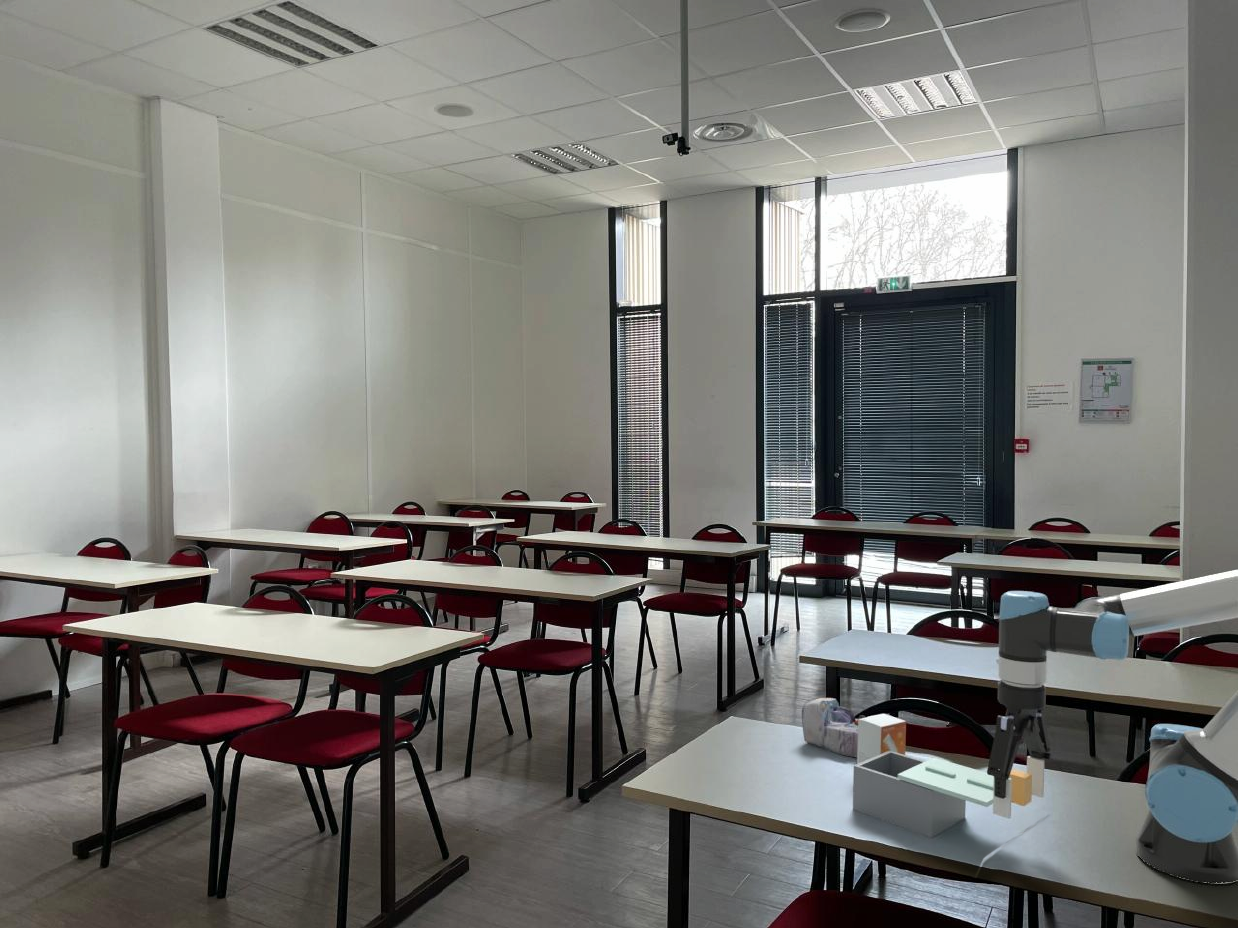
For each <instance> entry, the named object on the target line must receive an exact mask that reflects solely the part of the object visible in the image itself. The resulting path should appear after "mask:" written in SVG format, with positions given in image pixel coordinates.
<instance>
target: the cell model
mask: <svg viewBox="0 0 1238 928" xmlns="http://www.w3.org/2000/svg"><path fill="white" fill-rule="evenodd" d="M874 715H875V714H873V715H872V716H874ZM862 718H866V716H865V715H862V714H860V715H859V716H858V718H856V716H855V715H854V714H853V713H852V711H851V709H850V708H848V707H844V706H840V704H839V701H838V700H837V699H836V698H833V697H819V698H817V699H814V700H811V701H808V702H806V703H804V704H803V705H802V708H801V724H802V725H801V726H802V734H803V740H804V741H805V742H806V743H807V744H808V743H809V744H811V745H816V746H819V747H822V748H823V749H825V750H828V751H831V752H833V753H836V754H838V755H843V756H845V757H846V756H847V757H852V758H853V757H855V758H857V751H858V719H862Z"/></svg>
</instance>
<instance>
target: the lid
mask: <svg viewBox="0 0 1238 928" xmlns="http://www.w3.org/2000/svg"><path fill="white" fill-rule="evenodd" d="M924 761H925V762H923V763H921V764H919V765H917V766H914V767H912V768H910V769H908V770H906V771H904V772H902V773H899V774H898V779H900V780H903V781H906V782H909V783H913V784H916V785H919V786H922V787H925V788H928V789H931V790H935V791H938V792H941V793H944V794H947V795H950V796H953V797H956V798H960V799H963V800H966V801H967V802H969V803H973V804H976V805H979V806H982V807H984V808H988V807H990V806H991V805H993V787H994V776H991V775H988V774H987V771H983V770H979V769H976V768H975V769H974V768H971V767H969V766H966V765H961V764H958V763H954V762H951V761H948V760H945V759H941V758H937V757H932V758H930V759H927V760H924ZM1009 778H1011V779H1012V796H1011V804H1012V803H1013V804H1015V805H1018V806H1021V807H1022V806H1023V807H1026V806H1027V805H1029V804H1030V803H1032V797H1033V795H1032V774H1030V773H1027V771H1023V770H1019V769H1015V768H1014V769H1012V770H1011V773H1010V776H1009Z"/></svg>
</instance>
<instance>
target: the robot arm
mask: <svg viewBox="0 0 1238 928" xmlns="http://www.w3.org/2000/svg"><path fill="white" fill-rule="evenodd" d="M1233 619H1238V569H1235V570H1234V569H1233V570H1229V571H1224V572H1220V573H1215V574H1209V575H1205V576H1200V577H1196V578H1191V579H1186V580H1181V581H1175V582H1170V583H1166V584H1162V585H1157V586H1154V587H1153V586H1152V587H1148V588H1143V589H1138V590H1134V591H1128V592H1124V593H1120V594H1114V595H1110V596H1105V597H1097V596H1094V597H1090V598H1086V599H1083V600H1082V601H1080V602H1078V603H1077V604H1076V605H1075V607H1074V608H1065V607H1063V608H1062V607H1055V606H1052V605H1051V606H1050V603H1049V599H1048V596H1047V595H1046V594H1044V593H1041V592H1035V591H1027V590H1025V591H1024V590H1009V591H1007V592H1004V593H1003V594H1002V595H1001V596H1000V606H999V616H998V657H997V659H996V663H997V664H998V672H997V673H998V678H999V679H1000V680H998V682H997V701H998V702H999V703H1000V704H1001V705H1002V706H1003V705H1004V707H1005V708H1006V712H1005V716H1003V715H997V717H996V724H995V725H996V726H995V733H994V736H993V741H992V746H991V751H990V755H989V761H988V765H987V771H986V773H987V774H988V775H991V776H994V787H993V804H992V814H994V815H997V816H1000V817H1003V818H1006V819H1011V818H1012V802H1011V796H1012V779H1011V778H1009V776H1010V773H1011V771H1012V770H1013V766H1014V763H1015V760H1016V756H1017V753H1018V751H1019V747H1020V745H1022V744H1023V743H1025V746H1026V749H1027V751H1028V753H1029V755H1028V756H1026V772H1027V773H1030V774H1032V796H1035V797H1039V798H1044V794H1045V790H1044V789H1045V761H1046V760H1047V761H1050V759H1051V758H1052V757H1051V753H1050V752H1051V744H1050V739H1049V734H1048V728H1047V724H1046V717H1045V707H1046V705H1047V701H1046V697H1047V688H1046V687H1045V683H1047V679H1048V678H1047V673H1048V672H1047V670H1048V669H1047V667H1048V666H1047V665H1048V663H1047V662H1048V660H1047V659H1048V658H1047V657H1048V656H1047V654H1048V653H1047V652H1052V653H1061V654H1068V655H1073V656H1074V655H1076V656H1082V657H1089V658H1097V659H1100V660H1103V661H1104V660H1117V661H1122V660H1126V658H1127V657H1128V654H1129V646H1130V645H1129V643H1130V638H1133V637H1137V636H1143V635H1148V634H1155V633H1160V632H1165V631H1171V630H1177V629H1182V628H1188V627H1193V626H1198V625H1203V624H1204V625H1205V624H1211V623H1215V622H1221V621H1226V620H1227V621H1228V620H1233ZM1148 740H1149V742H1150V749H1149V750H1150V751H1149V752H1150V753H1149V769H1148V774H1147V780H1146V784H1145V787H1144V794H1145V798H1146V802H1147V805H1148V810H1147V814H1146V815H1145V817H1144V819H1143V823H1142V825H1141V827H1140V829H1139V831H1138V834H1137V837H1136V840H1135V841H1136V842H1135V843H1136V844H1135V854H1136V853H1137V854H1136V855H1139V857H1140V858H1141V859H1142V860H1144V861H1145V862H1146V863H1148V864H1150V865H1151V866H1152V867H1155V868H1156V869H1159V870H1161V871H1164V872H1166V873H1168V874H1172V875H1174V876H1178V877H1181V878H1185V879H1189V880H1193V881H1198V882H1207V883H1208V882H1209V883H1216V882H1217V883H1221V882H1223V883H1225V882H1233V881H1236V880H1238V845H1237V841H1236V839H1235V836H1234V833H1233V830H1234V829H1235V828H1236V825H1237V823H1238V690H1237V691H1236V692H1235V693H1234V694H1233V695H1232V696H1231V697H1230V699H1228V700H1227V701H1226V703H1225V704H1224V705H1223V707H1221V709H1220V710H1219V711H1218V712H1217V713H1216V714H1215V715H1214V716H1213V717H1212V719H1211V720H1210V721H1209V722H1208V723H1207V724H1206V725H1205V727H1203V728H1201V727H1195V726H1189V725H1183V724H1182V725H1181V724H1173V723H1157V724H1155V725H1154V726H1153V727H1152V728H1151V731H1150V737H1149V739H1148ZM1139 857H1138V858H1139ZM1140 858H1139V859H1140ZM1141 859H1140V860H1141ZM1142 860H1141V861H1142ZM1146 863H1145V864H1146ZM1151 866H1150V867H1151ZM1152 867H1151V868H1152ZM1156 869H1155V870H1156ZM1161 871H1160V872H1161ZM1168 874H1167V875H1168ZM1174 876H1173V877H1174Z"/></svg>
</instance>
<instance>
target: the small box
mask: <svg viewBox="0 0 1238 928" xmlns="http://www.w3.org/2000/svg"><path fill="white" fill-rule="evenodd" d="M873 715H874V716H873ZM873 715H870V716H867V717H866V716H865V718H862V719H858V718H857V719H858V751H857V757H856V758H857V759H856V761H857V762H856V763H857V764H859V763H861V762H863V761H866V760H868V759H871V758H873V757H875V756H878V755H880V754H882V753H885V752H887V751H893V752H896V753H899V754H903V755H906V737H907V733H906V732H907V721H906V720H904V719H901V718H899V717H894V716H892V715H890V714H887V713H879V714H873Z"/></svg>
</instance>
